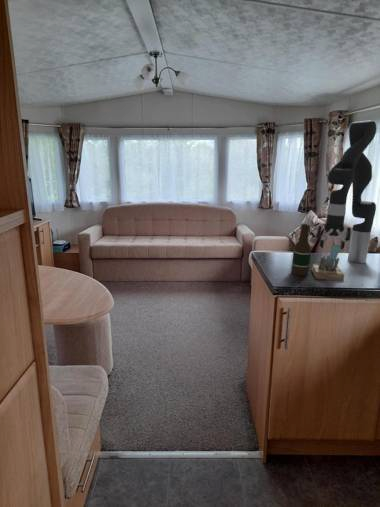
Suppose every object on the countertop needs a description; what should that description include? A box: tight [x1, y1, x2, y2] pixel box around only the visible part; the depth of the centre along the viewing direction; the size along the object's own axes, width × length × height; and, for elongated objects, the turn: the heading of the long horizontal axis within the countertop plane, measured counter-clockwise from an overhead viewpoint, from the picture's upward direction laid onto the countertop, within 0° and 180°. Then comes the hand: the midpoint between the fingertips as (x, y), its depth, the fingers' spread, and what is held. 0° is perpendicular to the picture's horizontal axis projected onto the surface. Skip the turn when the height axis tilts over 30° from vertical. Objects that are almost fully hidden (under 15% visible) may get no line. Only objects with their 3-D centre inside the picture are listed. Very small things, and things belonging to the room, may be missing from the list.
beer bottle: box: [291, 223, 312, 277], centre depth 160 cm, size 8×8×24 cm
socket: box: [311, 254, 345, 282], centre depth 161 cm, size 14×12×9 cm
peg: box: [325, 244, 341, 270], centre depth 156 cm, size 3×3×14 cm
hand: (331, 248), depth 158 cm, fingers open, 8 cm apart
